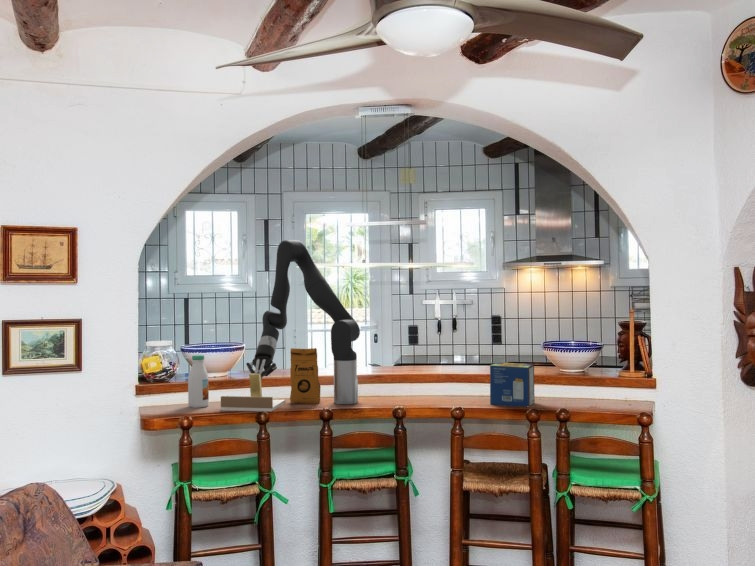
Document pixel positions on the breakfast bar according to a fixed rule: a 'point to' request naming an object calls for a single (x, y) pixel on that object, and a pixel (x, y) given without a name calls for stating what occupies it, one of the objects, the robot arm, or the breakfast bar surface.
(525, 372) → the protein box
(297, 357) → the coffee package
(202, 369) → the milk bottle
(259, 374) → the bar
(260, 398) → the board
